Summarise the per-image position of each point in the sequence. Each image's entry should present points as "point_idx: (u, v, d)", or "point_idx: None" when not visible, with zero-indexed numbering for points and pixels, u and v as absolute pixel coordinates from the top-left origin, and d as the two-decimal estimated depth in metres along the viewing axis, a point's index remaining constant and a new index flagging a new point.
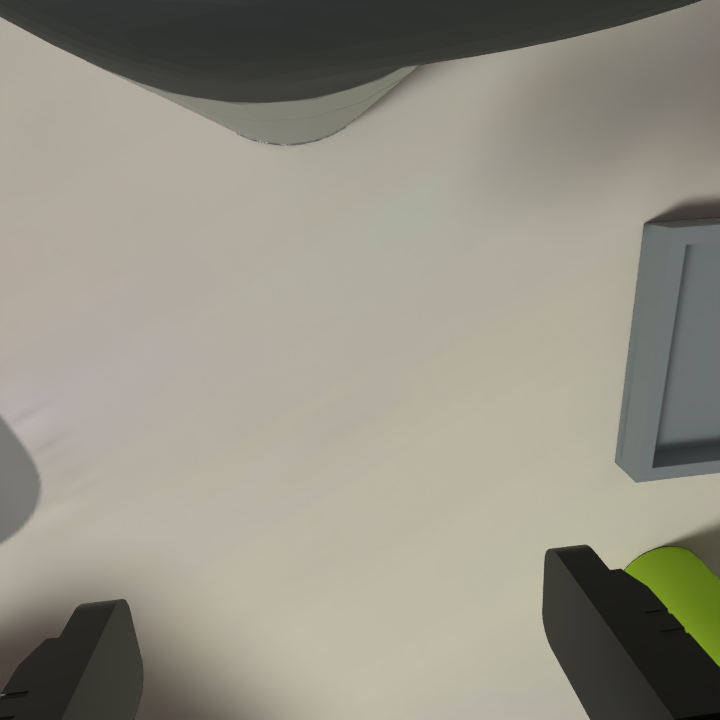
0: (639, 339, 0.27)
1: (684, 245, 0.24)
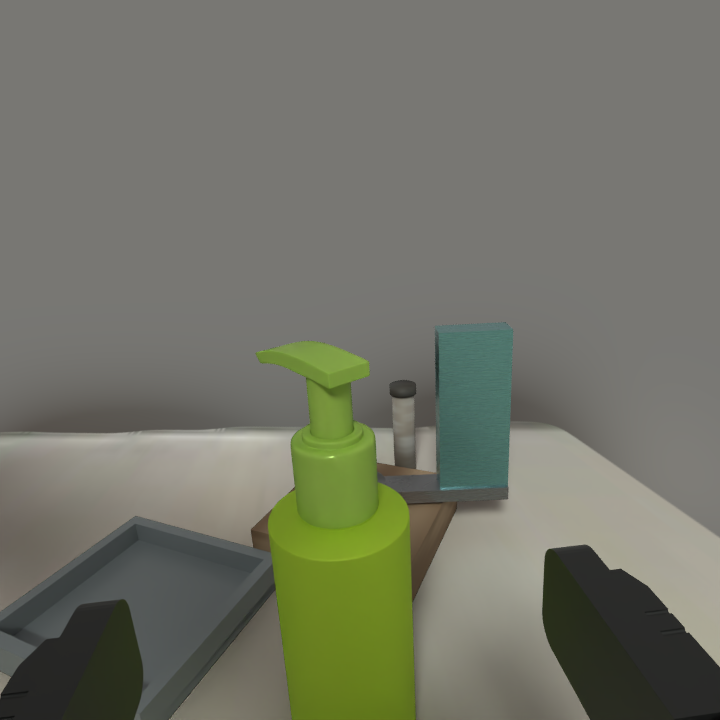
0: None
1: None
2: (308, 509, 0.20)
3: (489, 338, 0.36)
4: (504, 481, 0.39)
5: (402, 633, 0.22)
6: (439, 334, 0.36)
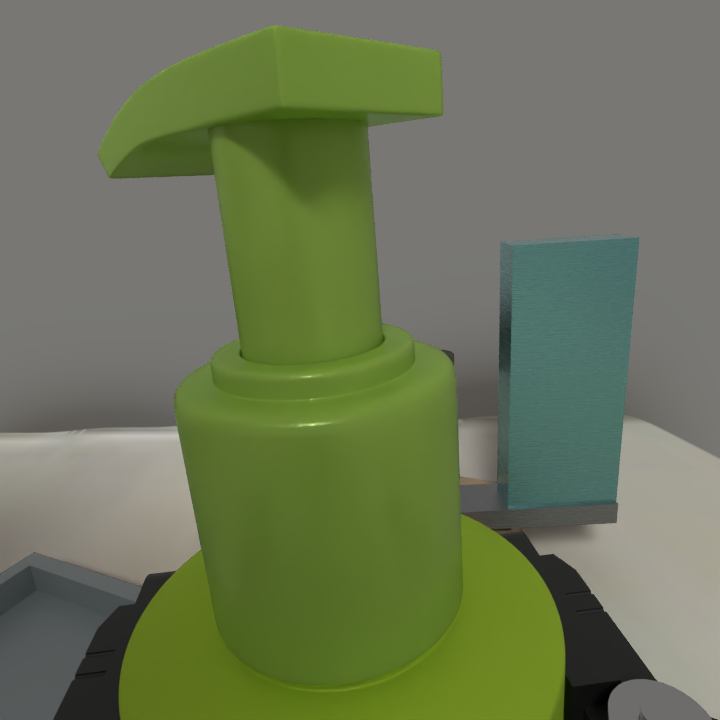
0: None
1: None
2: (235, 616, 0.06)
3: (598, 254, 0.21)
4: (611, 494, 0.24)
5: None
6: (514, 248, 0.21)
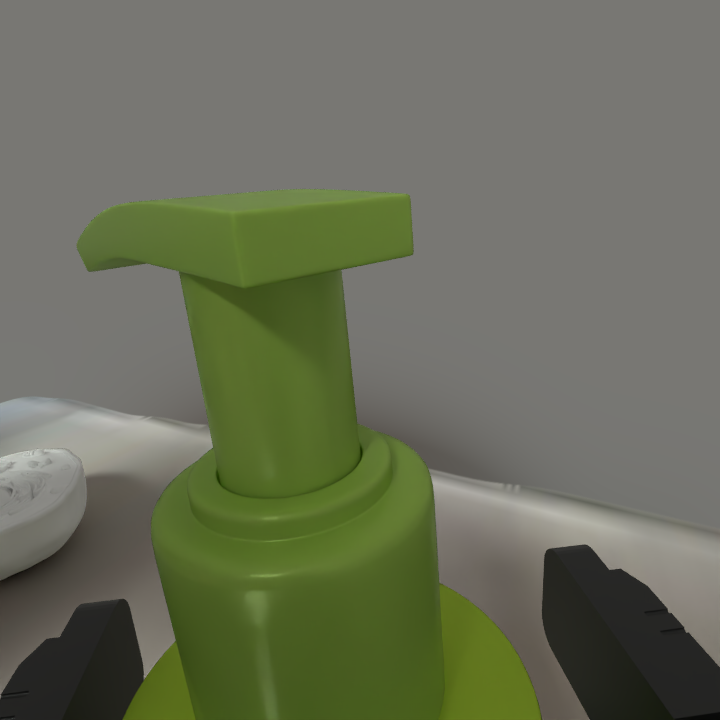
0: None
1: None
2: None
3: None
4: None
5: None
6: None
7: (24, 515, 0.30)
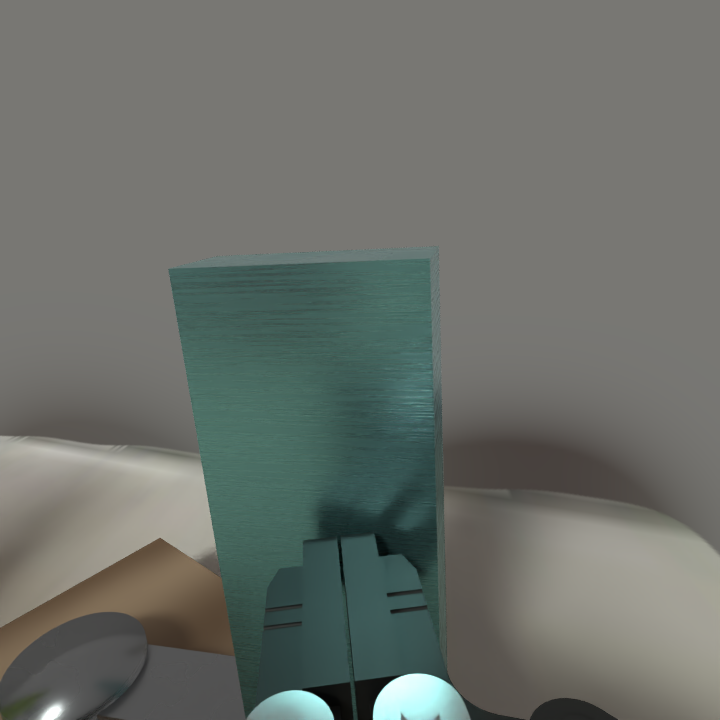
0: None
1: None
2: None
3: (343, 294, 0.10)
4: None
5: None
6: (173, 274, 0.10)
7: None
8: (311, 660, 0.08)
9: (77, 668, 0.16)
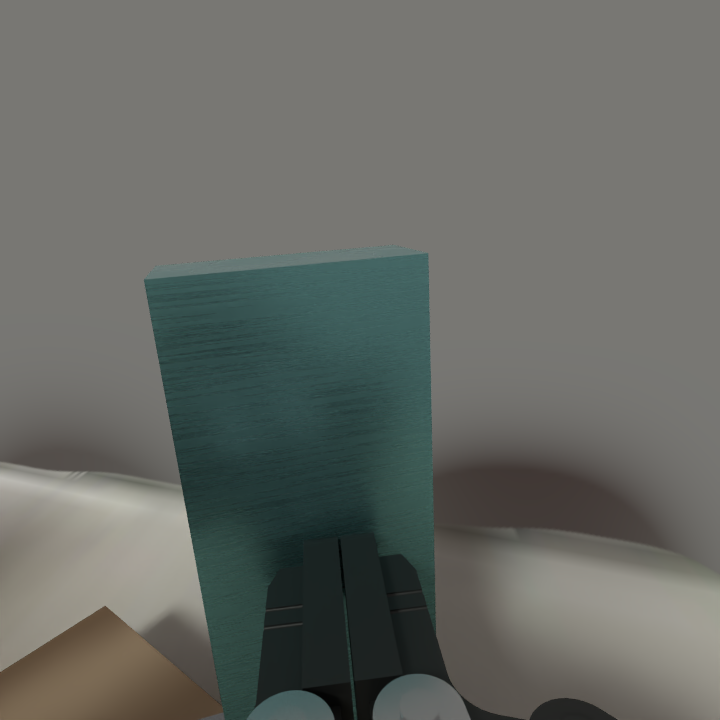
0: None
1: None
2: None
3: (349, 292, 0.10)
4: None
5: None
6: (149, 285, 0.09)
7: None
8: (311, 660, 0.08)
9: None
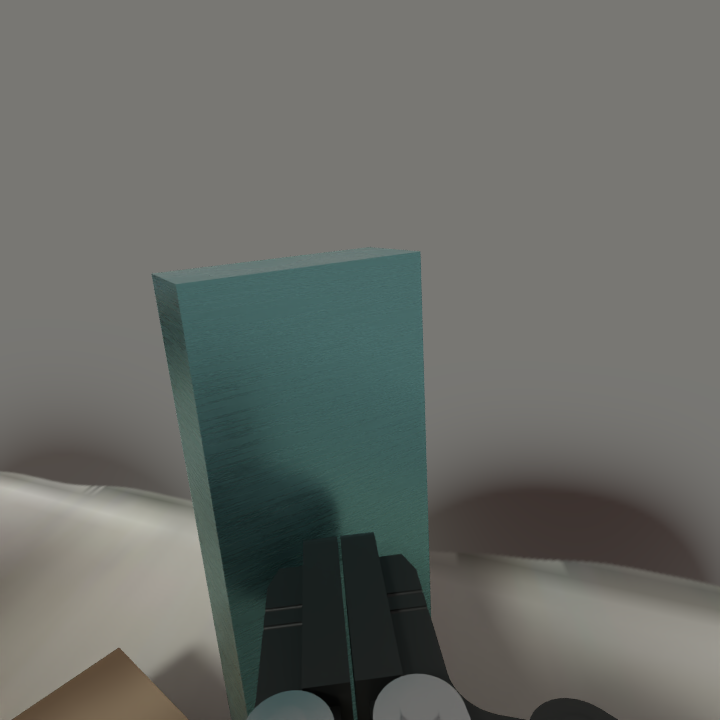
0: None
1: None
2: None
3: (357, 289, 0.10)
4: None
5: None
6: (179, 290, 0.09)
7: None
8: (311, 660, 0.08)
9: None
